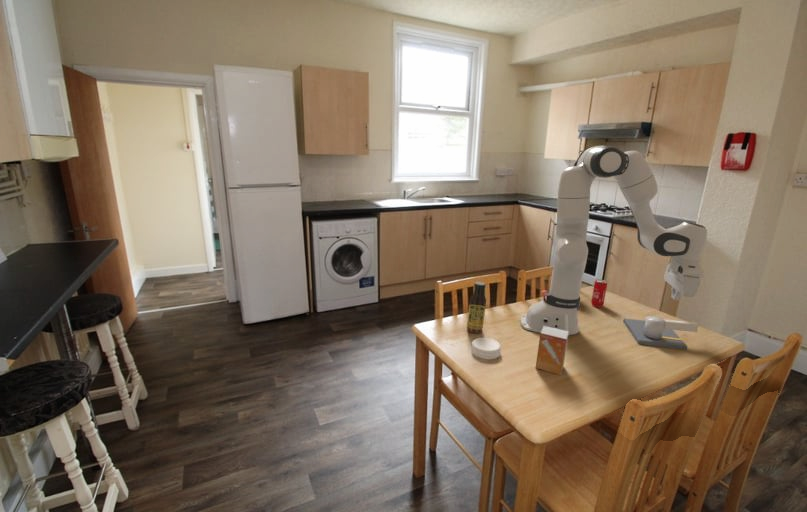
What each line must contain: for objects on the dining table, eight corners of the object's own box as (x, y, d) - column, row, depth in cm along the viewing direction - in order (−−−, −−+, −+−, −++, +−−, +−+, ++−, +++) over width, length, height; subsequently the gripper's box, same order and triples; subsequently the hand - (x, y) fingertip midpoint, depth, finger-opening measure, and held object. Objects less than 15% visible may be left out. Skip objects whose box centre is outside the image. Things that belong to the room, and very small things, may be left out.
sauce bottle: (466, 332, 150) (469, 284, 144) (467, 325, 156) (470, 279, 150) (483, 334, 148) (487, 286, 143) (483, 327, 154) (487, 281, 149)
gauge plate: (637, 343, 144) (638, 339, 144) (623, 321, 163) (623, 317, 162) (686, 350, 140) (687, 345, 140) (665, 326, 159) (666, 322, 159)
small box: (535, 368, 126) (539, 332, 123) (538, 359, 132) (543, 325, 128) (561, 375, 123) (566, 338, 119) (563, 366, 128) (569, 330, 124)
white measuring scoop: (646, 337, 145) (650, 322, 143) (640, 330, 150) (643, 315, 148) (697, 343, 141) (701, 327, 140) (689, 335, 147) (693, 320, 145)
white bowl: (504, 351, 137) (505, 342, 136) (494, 363, 129) (495, 354, 128) (477, 343, 143) (478, 334, 142) (466, 354, 135) (467, 345, 134)
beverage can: (604, 308, 176) (608, 283, 173) (592, 306, 177) (596, 282, 174) (601, 303, 181) (605, 279, 178) (589, 302, 182) (593, 278, 179)
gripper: (664, 256, 154) (655, 289, 158) (686, 272, 135) (676, 308, 139) (681, 258, 153) (673, 291, 157) (706, 274, 134) (696, 311, 138)
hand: (674, 299), depth 148 cm, fingers closed
